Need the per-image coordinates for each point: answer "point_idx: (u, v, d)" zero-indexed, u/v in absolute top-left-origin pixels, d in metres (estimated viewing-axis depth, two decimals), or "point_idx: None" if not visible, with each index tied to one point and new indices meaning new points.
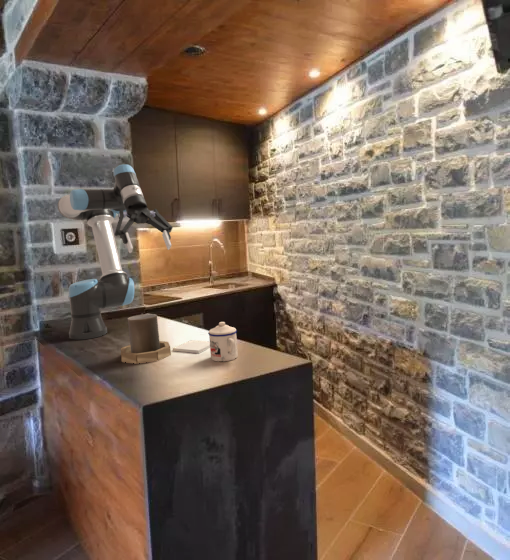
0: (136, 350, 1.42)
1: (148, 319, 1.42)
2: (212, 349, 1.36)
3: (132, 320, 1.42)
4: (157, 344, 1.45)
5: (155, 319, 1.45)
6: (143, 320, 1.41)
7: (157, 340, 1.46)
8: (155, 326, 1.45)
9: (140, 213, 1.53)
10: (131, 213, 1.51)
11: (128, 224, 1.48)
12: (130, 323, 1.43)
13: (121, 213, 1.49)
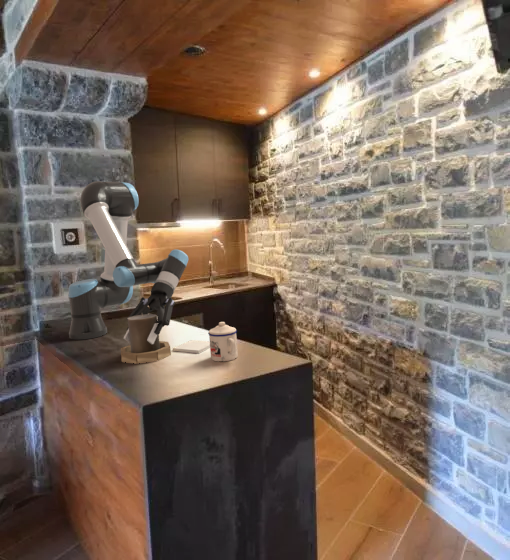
0: (136, 350, 1.42)
1: (148, 319, 1.42)
2: (212, 349, 1.36)
3: (132, 320, 1.42)
4: (157, 344, 1.45)
5: (155, 319, 1.45)
6: (143, 320, 1.41)
7: (157, 340, 1.46)
8: None
9: None
10: None
11: None
12: (130, 323, 1.43)
13: None
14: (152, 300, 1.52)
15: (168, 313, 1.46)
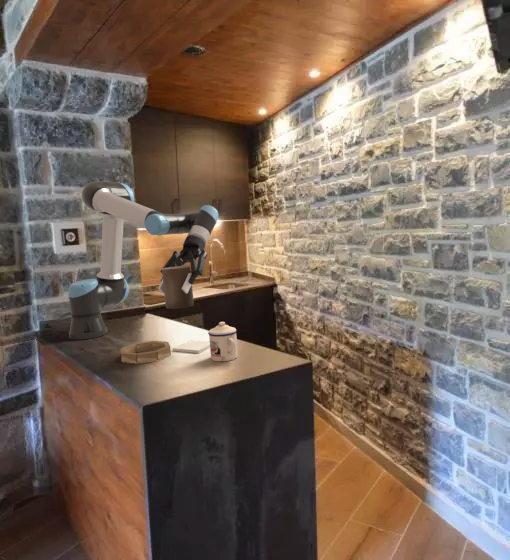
0: (171, 299, 1.45)
1: (182, 268, 1.44)
2: (212, 349, 1.36)
3: (166, 269, 1.44)
4: (191, 294, 1.48)
5: (188, 269, 1.47)
6: (177, 269, 1.44)
7: (190, 290, 1.48)
8: None
9: None
10: None
11: None
12: (164, 272, 1.45)
13: None
14: (185, 253, 1.54)
15: (201, 264, 1.48)
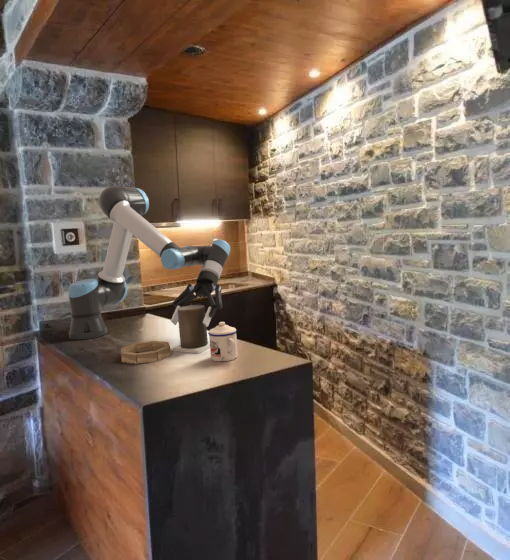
0: (186, 339, 1.49)
1: (198, 309, 1.49)
2: (212, 349, 1.36)
3: (182, 310, 1.48)
4: (205, 333, 1.52)
5: (203, 309, 1.51)
6: (193, 310, 1.48)
7: (205, 329, 1.52)
8: (203, 316, 1.51)
9: None
10: None
11: None
12: (180, 313, 1.49)
13: None
14: (198, 288, 1.58)
15: (219, 297, 1.52)
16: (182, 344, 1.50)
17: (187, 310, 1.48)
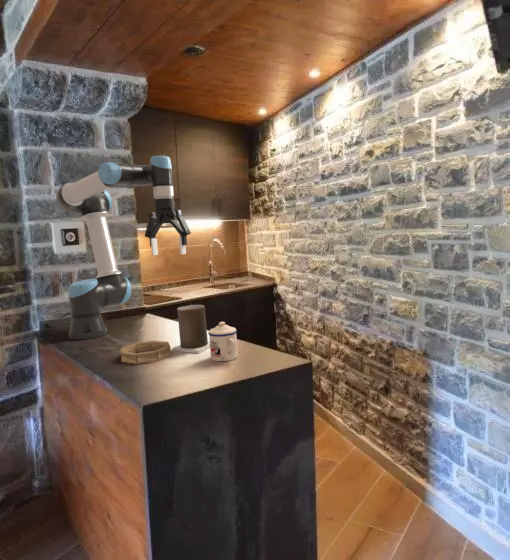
0: (186, 339, 1.49)
1: (198, 309, 1.49)
2: (212, 349, 1.36)
3: (182, 310, 1.48)
4: (205, 333, 1.52)
5: (203, 309, 1.51)
6: (193, 310, 1.48)
7: (205, 329, 1.52)
8: (203, 316, 1.51)
9: None
10: None
11: None
12: (180, 313, 1.49)
13: None
14: (161, 217, 1.63)
15: (184, 224, 1.60)
16: (182, 344, 1.50)
17: (187, 310, 1.48)
